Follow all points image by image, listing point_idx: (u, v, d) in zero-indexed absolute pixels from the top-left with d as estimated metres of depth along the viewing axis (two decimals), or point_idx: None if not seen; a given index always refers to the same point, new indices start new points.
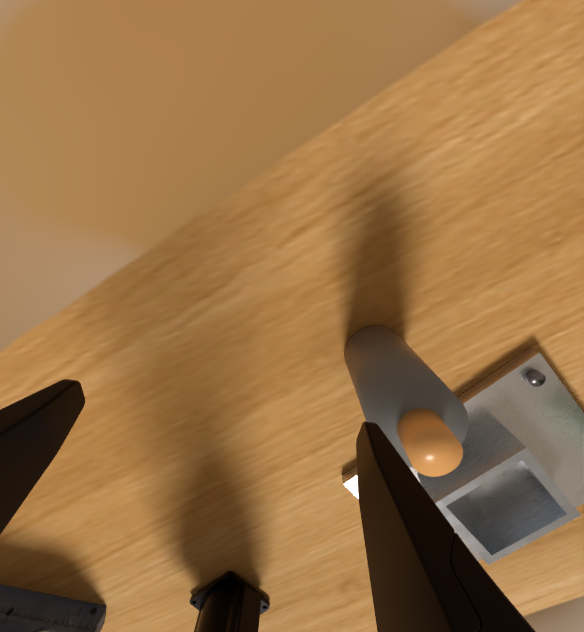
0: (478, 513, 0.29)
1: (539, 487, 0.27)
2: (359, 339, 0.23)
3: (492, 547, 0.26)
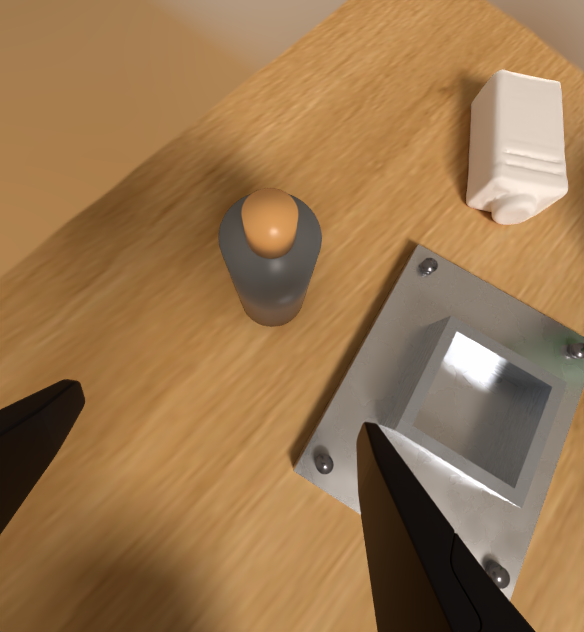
0: (479, 455, 0.21)
1: (518, 388, 0.23)
2: None
3: (510, 479, 0.19)
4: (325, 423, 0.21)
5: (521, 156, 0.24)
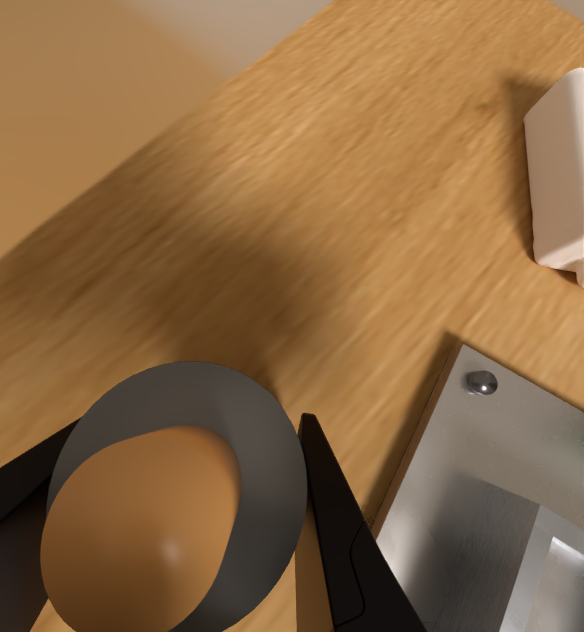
0: None
1: None
2: None
3: None
4: None
5: None
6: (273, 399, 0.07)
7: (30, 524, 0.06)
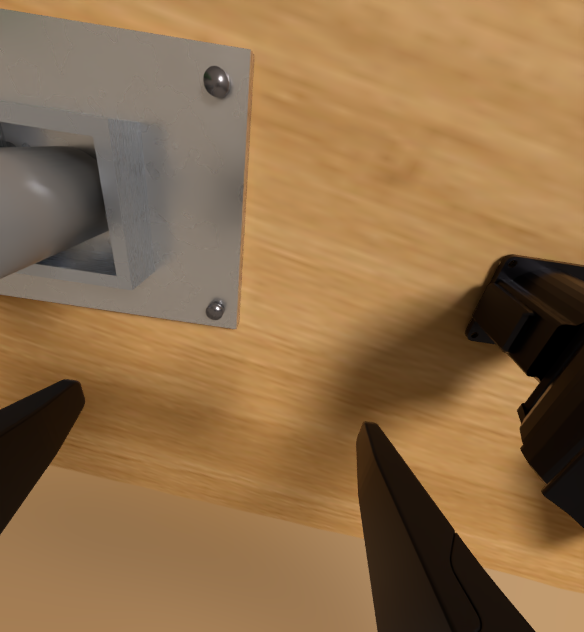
0: None
1: None
2: None
3: None
4: (185, 317, 0.22)
5: None
6: None
7: None
